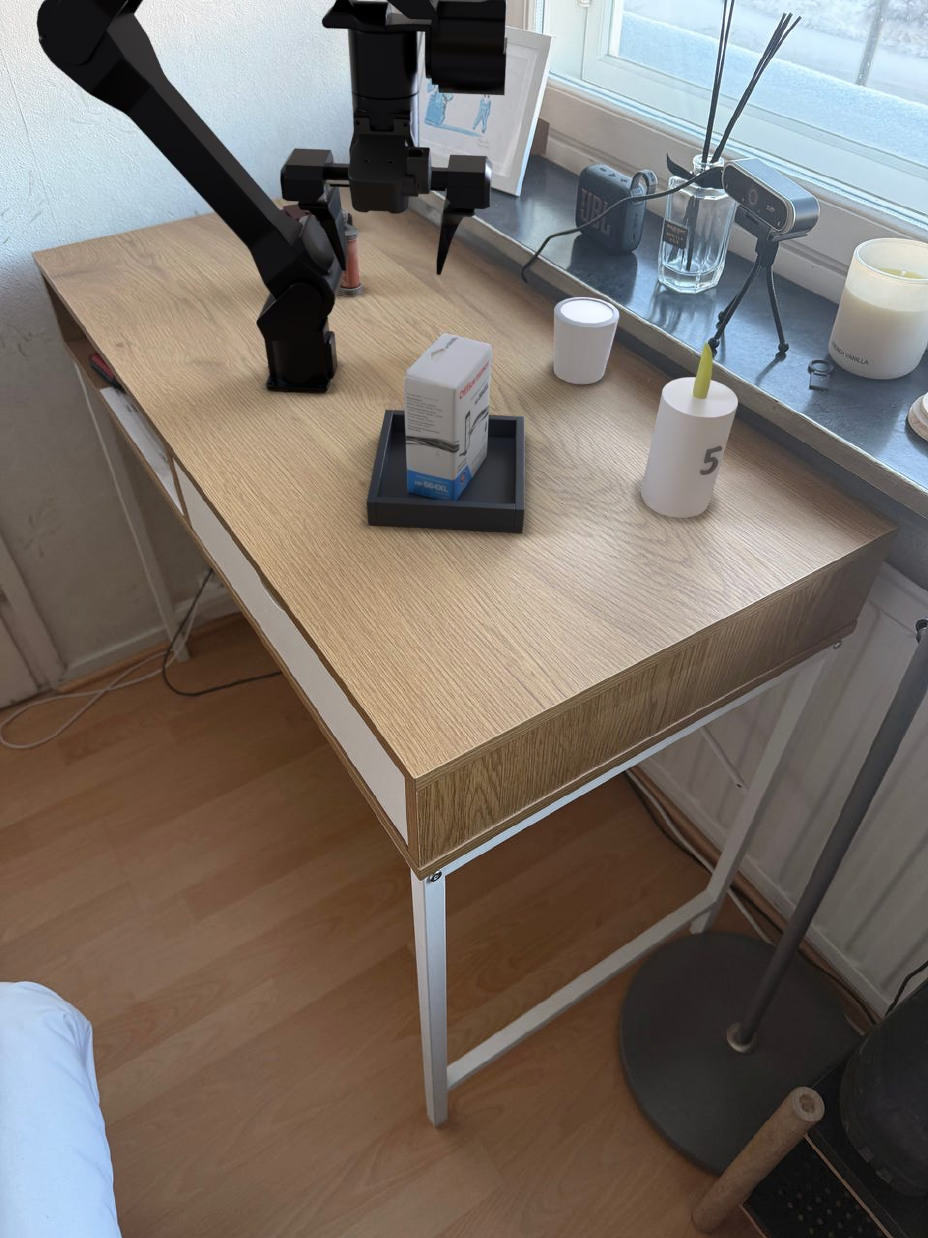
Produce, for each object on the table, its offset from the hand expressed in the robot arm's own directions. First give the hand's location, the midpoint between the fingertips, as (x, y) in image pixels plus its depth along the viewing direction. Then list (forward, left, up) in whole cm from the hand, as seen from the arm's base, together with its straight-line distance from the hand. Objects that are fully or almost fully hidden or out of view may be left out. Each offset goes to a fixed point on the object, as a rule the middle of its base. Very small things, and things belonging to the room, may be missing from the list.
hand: (392, 271), depth 85 cm
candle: (+28, -18, -12) cm, 35 cm away
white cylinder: (+20, +4, -12) cm, 24 cm away
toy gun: (-16, +38, -12) cm, 43 cm away
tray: (+7, -17, -12) cm, 22 cm away
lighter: (-10, +22, -12) cm, 27 cm away
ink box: (+7, -17, -12) cm, 22 cm away
